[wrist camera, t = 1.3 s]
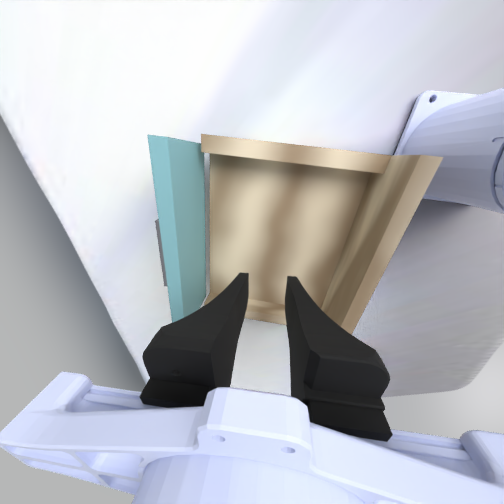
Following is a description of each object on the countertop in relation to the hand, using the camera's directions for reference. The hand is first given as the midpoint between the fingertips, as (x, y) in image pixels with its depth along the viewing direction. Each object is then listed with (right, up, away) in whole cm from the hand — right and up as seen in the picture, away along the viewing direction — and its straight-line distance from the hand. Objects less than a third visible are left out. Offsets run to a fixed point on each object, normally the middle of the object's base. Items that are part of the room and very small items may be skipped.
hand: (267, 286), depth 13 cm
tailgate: (-6, +4, +7) cm, 10 cm away
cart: (+2, +4, +9) cm, 10 cm away
